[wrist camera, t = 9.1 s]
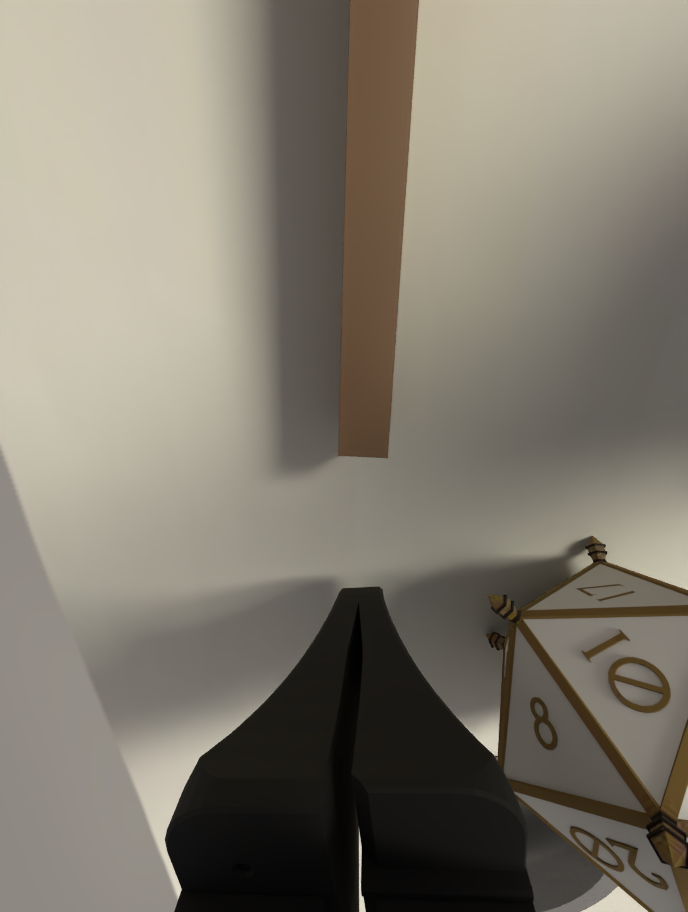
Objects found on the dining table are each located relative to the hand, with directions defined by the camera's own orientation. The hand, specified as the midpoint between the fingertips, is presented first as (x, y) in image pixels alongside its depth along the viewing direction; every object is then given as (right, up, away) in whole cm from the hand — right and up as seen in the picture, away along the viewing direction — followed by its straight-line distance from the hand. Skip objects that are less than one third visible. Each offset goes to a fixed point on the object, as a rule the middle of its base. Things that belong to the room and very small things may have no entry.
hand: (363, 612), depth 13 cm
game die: (+7, 0, +1) cm, 8 cm away
